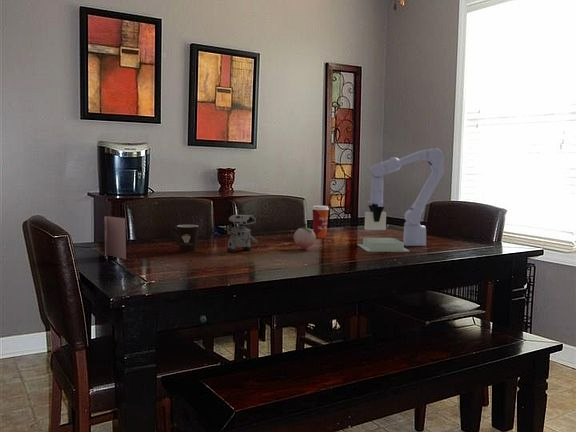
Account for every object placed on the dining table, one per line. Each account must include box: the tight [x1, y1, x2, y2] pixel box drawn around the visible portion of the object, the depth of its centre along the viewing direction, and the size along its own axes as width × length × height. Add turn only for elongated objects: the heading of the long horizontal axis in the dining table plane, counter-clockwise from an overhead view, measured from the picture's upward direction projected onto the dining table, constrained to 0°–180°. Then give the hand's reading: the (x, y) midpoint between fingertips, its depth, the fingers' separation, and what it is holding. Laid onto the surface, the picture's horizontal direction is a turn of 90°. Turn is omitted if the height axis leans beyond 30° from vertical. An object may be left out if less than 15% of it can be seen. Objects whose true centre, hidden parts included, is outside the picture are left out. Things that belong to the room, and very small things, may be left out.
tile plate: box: [364, 211, 387, 231], centre depth 247 cm, size 9×2×8 cm, turn 96°
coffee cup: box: [311, 205, 330, 239], centre depth 263 cm, size 8×8×15 cm
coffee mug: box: [167, 224, 200, 253], centre depth 220 cm, size 12×9×10 cm
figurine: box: [226, 214, 261, 253], centre depth 219 cm, size 9×12×15 cm
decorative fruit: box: [293, 227, 317, 250], centre depth 228 cm, size 9×8×10 cm
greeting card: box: [102, 215, 127, 260], centre depth 200 cm, size 11×7×15 cm, turn 22°
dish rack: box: [357, 237, 410, 253], centre depth 235 cm, size 18×17×4 cm
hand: (375, 221), depth 247 cm, fingers closed on tile plate, 2 cm apart
